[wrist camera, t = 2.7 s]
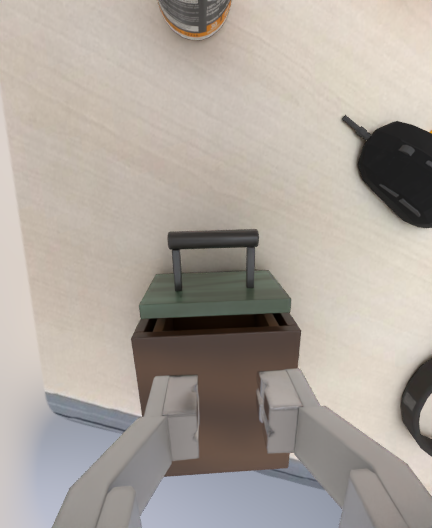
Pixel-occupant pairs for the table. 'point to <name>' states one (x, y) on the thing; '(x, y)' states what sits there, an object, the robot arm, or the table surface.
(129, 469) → the robot arm
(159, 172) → the table surface
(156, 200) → the table surface
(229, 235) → the drawer
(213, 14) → the pill bottle
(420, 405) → the headphones
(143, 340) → the cabinet
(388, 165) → the gaming mouse
